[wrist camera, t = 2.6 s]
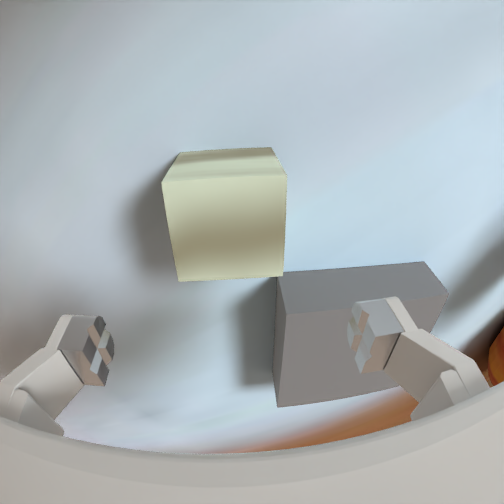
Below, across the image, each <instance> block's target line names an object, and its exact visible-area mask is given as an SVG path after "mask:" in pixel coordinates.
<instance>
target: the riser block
mask: <svg viewBox="0 0 504 504" xmlns="http://www.w3.org/2000/svg"><path fill="white" fill-rule="evenodd" d="M448 295H449V293H448V291H447V290H446V289H445V287H444V286H443V285H442V283H441V282H440V281H439V280H438V278H437V277H436V276H435V274H434V273H433V272H432V271H431V269H430V268H429V267H428V266H427V264H426V263H425V262H414V263H402V264H390V265H378V266H366V267H353V268H339V269H325V270H311V271H296V272H283V276H278V277H277V292H276V314H275V334H274V353H273V370H272V373H273V380H274V387H275V394H276V402H277V408H278V407H287V406H296V405H304V404H311V403H318V402H325V401H331V400H337V399H342V398H348V397H353V396H358V395H363V394H368V393H372V392H377V391H381V390H385V389H389V388H393V387H397V386H399V384H398V383H396V382H395V381H394V380H393V379H392V378H391V377H390V376H388V375H387V374H386V373H385V372H384V370H380V371H375V372H369V373H363V374H360V371H359V369H358V366H357V363H356V361H355V356H356V353H357V352H355V351H354V350H353V349H351V348H350V345H349V342H348V338H347V327H348V322H349V321H350V320H351V319H352V318H353V317H354V316H353V314H352V312H351V311H352V307H353V305H354V303H355V302H360V301H367V300H375V299H382V298H388V297H394V296H396V297H398V298H399V299H400V301H401V303H402V304H403V306H404V307H405V309H406V310H407V312H408V314H409V315H410V317H411V318H412V320H413V322H414V323H415V325H416V326H417V328H418V329H423V330H425V331H427V332H428V333H430V332H431V330H432V328H433V326H434V324H435V322H436V320H437V318H438V316H439V314H440V312H441V310H442V308H443V306H444V304H445V302H446V300H447V297H448Z"/></svg>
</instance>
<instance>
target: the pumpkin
mask: <svg viewBox="0 0 504 504" xmlns="http://www.w3.org/2000/svg"><path fill="white" fill-rule="evenodd" d="M488 373H489V377H490V380H491V383H492V384H493V386H496V385H497V384H499V383H501V382H503V381H504V327H503V329H502V330H501V331H500V333H499V334H498V336H497V338H496V339H495V341H494V342H493V344H492V345H491V347H490V348H489V360H488Z"/></svg>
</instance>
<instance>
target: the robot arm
mask: <svg viewBox="0 0 504 504" xmlns="http://www.w3.org/2000/svg"><path fill="white" fill-rule="evenodd" d="M351 312H352V314H353V316H354V317H353V318H352V319H351V320H350V321H349V322H348V327H347V338H348V342H349V345H350V348H351V349H353V350H354V351H355V352H357V353H356V356H355V361H356V363H357V366H358V369H359V371H360V374H363V373H369V372H375V371H380V370H384V372H385V373H386V374H387V375H388V376H390V377H391V378H392V379H393V380H394V381H395V382H396V383H398V384H399V385H400V386H401V387H402V388H403V389H404V390H406V391H407V392H408V393H409V394H410V395H411V396H412V397H414V398H415V399H416V400H417V401H418V402H419V404H418V406H417V407H416V408H415V409H414V411H413V412H412V414H411V415H410V417H411V419H412V421H411V422H408V423H405V424H402V425H399V426H395V427H392V428H389V429H385V430H382V431H378V432H374V433H370V434H367V435H363V436H358V437H354V438H350V439H345V440H340V441H336V442H330V443H325V444H319V445H313V446H307V447H300V448H293V449H285V450H276V451H265V452H253V453H233V454H185V453H166V452H154V451H143V450H135V449H127V448H120V447H113V446H107V445H101V444H96V443H90V442H86V441H81V440H76V439H72V438H68V437H64V436H63V434H64V430H63V428H62V427H61V426H60V425H59V424H58V423H56V422H55V421H54V420H55V419H56V417H57V416H58V415H59V414H60V413H61V412H62V410H63V409H64V408H65V407H66V406H67V405H68V403H69V402H70V401H71V400H72V399H73V398H74V397H75V395H76V394H77V393H78V392H79V391H80V390H81V389H82V387H83V386H84V385H83V384H85V385H96V386H105V383H106V380H107V376H108V373H109V369H108V367H107V364H108V363H110V362H111V361H112V359H113V355H114V342H113V338H112V336H111V334H110V333H109V332H108V331H106V330H105V329H104V328H105V326H106V323H105V321H104V319H103V317H101V316H92V315H68V314H64V315H62V316H61V317H60V319H59V320H58V322H57V324H56V326H55V328H54V330H53V332H52V334H51V336H50V338H49V340H48V342H47V344H46V346H45V348H41V349H39V350H38V351H37V352H35V353H34V354H33V355H32V356H30V357H29V358H28V359H27V360H25V361H24V362H23V363H22V364H20V365H19V366H18V367H17V368H15V369H14V370H13V371H12V372H11V373H9V374H8V375H7V376H6V377H4V378H3V379H2V380H1V381H0V504H504V381H503V382H501V383H499V384H497V385H496V386H494V387H492V388H490V387H489V385H488V383H487V382H486V380H485V378H484V376H483V375H482V373H481V371H480V370H479V368H478V366H477V364H476V363H475V361H474V360H473V359H471V358H470V357H468V356H466V355H465V354H463V353H461V352H460V351H458V350H457V349H455V348H453V347H452V346H450V345H448V344H447V343H445V342H443V341H442V340H440V339H438V338H437V337H435V336H433V335H432V334H430V333H428V332H427V331H425V330H423V329H418V328H417V326H416V325H415V323H414V322H413V320H412V318H411V317H410V315H409V314H408V312H407V310H406V309H405V307H404V306H403V304H402V303H401V301H400V299H399V298H398V297H396V296H394V297H388V298H382V299H375V300H367V301H360V302H355V303H354V305H353V307H352V311H351Z"/></svg>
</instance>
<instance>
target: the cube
mask: <svg viewBox="0 0 504 504" xmlns="http://www.w3.org/2000/svg"><path fill="white" fill-rule="evenodd" d="M161 184H162V191H163V198H164V204H165V210H166V216H167V222H168V228H169V234H170V239H171V245H172V250H173V256H174V261H175V266H176V271H177V276H178V280H179V282H183V281H205V280H226V279H244V278H262V277H278V276H283V266H284V246H285V222H286V194H287V174H286V173H285V171H284V169H283V167H282V165H281V164H280V162H279V160H278V158H277V157H276V155H275V153H274V151H273V150H272V148H271V147H267V148H237V149H218V150H204V151H191V152H180V153H179V155H178V156H177V158H176V160H175V161H174V163H173V164H172V166H171V167H170V169H169V171H168V172H167V174H166V176H165V177H164V179H163V180H162V182H161Z"/></svg>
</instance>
